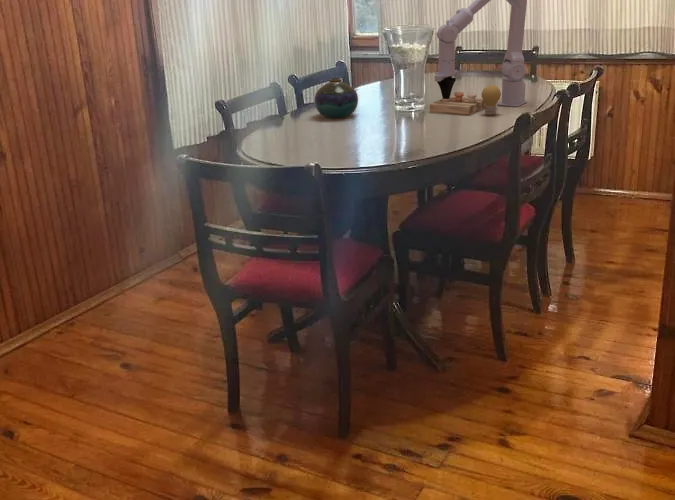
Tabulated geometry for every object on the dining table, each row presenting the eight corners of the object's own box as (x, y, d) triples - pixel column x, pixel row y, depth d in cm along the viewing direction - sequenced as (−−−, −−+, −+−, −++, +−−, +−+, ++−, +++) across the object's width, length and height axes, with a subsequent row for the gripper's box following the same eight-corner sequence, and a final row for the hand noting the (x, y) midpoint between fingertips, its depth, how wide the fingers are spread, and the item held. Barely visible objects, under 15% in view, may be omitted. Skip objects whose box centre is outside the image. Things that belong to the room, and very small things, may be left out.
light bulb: (500, 116, 251) (501, 86, 248) (480, 116, 253) (481, 87, 249) (499, 112, 257) (501, 83, 253) (481, 112, 258) (482, 83, 255)
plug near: (469, 100, 263) (469, 92, 262) (477, 101, 261) (478, 93, 260) (465, 102, 261) (465, 94, 259) (474, 102, 259) (474, 94, 258)
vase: (308, 120, 259) (306, 82, 254) (325, 111, 272) (323, 75, 267) (349, 122, 253) (347, 83, 248) (364, 113, 266) (363, 75, 261)
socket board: (449, 104, 275) (449, 96, 274) (487, 107, 267) (487, 98, 266) (429, 112, 263) (429, 104, 262) (468, 115, 255) (468, 107, 254)
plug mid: (456, 99, 266) (456, 91, 265) (464, 100, 264) (465, 92, 263) (452, 101, 263) (452, 93, 262) (461, 101, 261) (461, 94, 260)
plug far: (444, 105, 269) (444, 97, 268) (452, 105, 267) (452, 98, 266) (440, 106, 267) (440, 99, 266) (448, 107, 265) (448, 99, 264)
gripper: (445, 57, 269) (445, 94, 274) (426, 62, 258) (426, 101, 263) (463, 57, 265) (462, 95, 270) (445, 63, 254) (444, 102, 259)
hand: (446, 98), depth 266 cm, fingers closed, pressing on plug far
